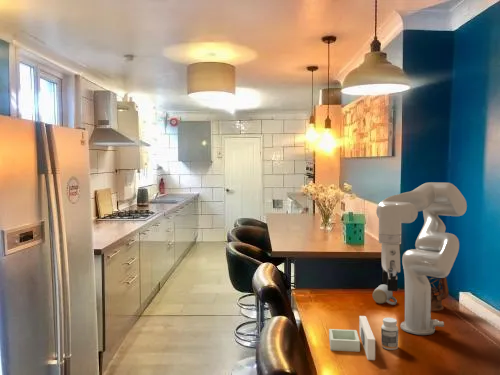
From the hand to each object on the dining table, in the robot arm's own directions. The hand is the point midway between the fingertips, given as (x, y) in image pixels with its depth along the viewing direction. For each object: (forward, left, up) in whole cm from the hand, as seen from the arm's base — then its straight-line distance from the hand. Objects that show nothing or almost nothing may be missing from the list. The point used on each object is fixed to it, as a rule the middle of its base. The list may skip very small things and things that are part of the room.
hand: (389, 286), depth 146 cm
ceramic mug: (-8, -51, -22) cm, 56 cm away
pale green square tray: (+16, 0, -22) cm, 27 cm away
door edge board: (+8, 0, -22) cm, 23 cm away
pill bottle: (0, 0, -22) cm, 22 cm away
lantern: (-26, -47, -22) cm, 58 cm away
